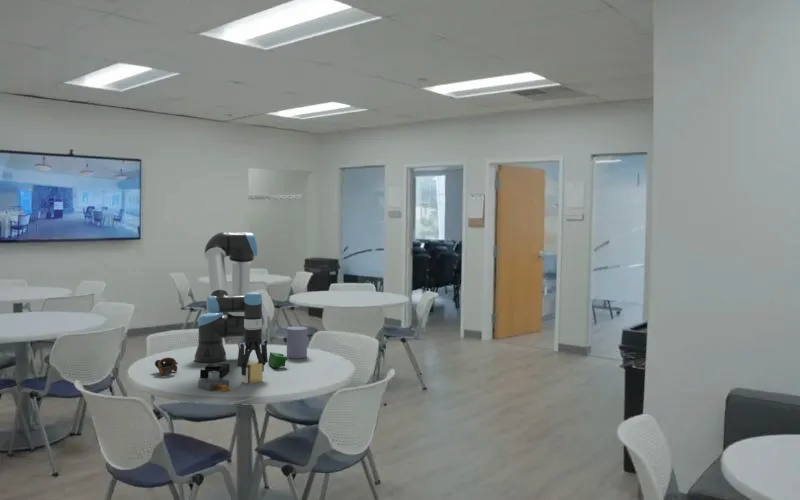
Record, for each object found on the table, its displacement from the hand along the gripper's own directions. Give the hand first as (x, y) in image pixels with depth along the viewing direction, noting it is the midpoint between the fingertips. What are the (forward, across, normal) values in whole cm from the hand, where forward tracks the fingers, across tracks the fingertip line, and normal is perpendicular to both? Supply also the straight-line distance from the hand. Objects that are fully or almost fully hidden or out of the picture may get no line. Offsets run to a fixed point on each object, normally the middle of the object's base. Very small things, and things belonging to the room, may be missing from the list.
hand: (252, 381), depth 277 cm
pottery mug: (+1, -19, +40) cm, 44 cm away
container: (0, +46, +27) cm, 53 cm away
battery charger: (+1, -5, +22) cm, 23 cm away
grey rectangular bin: (0, -17, +3) cm, 17 cm away
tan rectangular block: (0, 0, 0) cm, 0 cm away
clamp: (+1, +26, +18) cm, 32 cm away
